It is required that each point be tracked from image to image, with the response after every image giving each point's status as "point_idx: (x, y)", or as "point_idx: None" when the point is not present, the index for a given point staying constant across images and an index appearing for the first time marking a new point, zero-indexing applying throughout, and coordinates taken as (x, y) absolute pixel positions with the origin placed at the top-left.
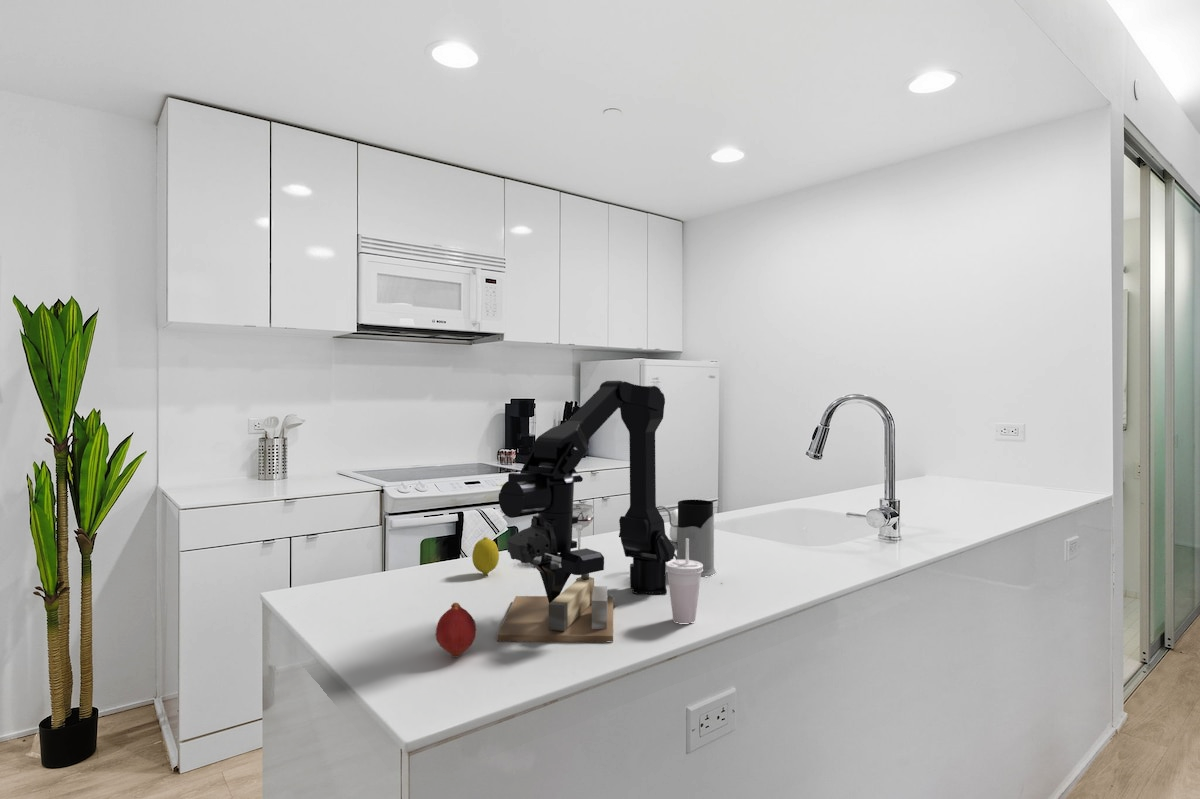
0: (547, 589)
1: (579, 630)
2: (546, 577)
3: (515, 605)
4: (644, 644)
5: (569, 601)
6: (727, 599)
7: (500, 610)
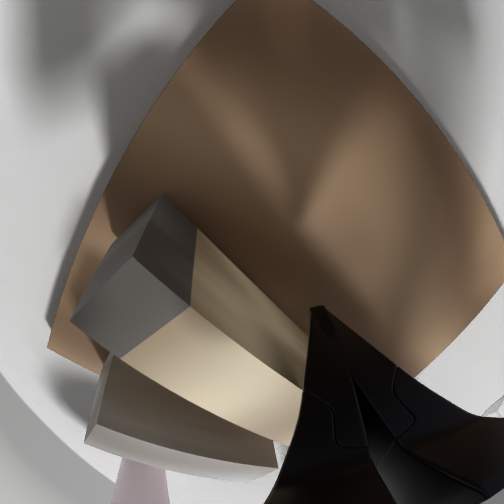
0: (351, 357)
1: None
2: (382, 425)
3: (486, 229)
4: (33, 371)
5: (149, 374)
6: (210, 498)
7: (501, 188)
